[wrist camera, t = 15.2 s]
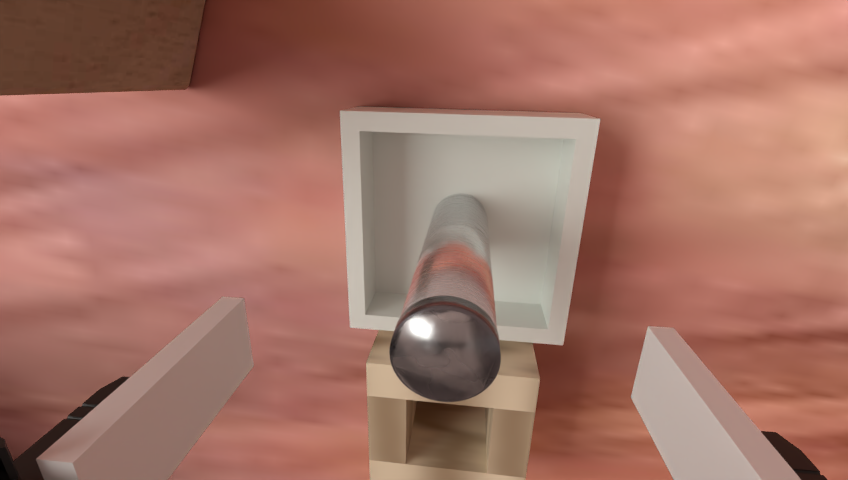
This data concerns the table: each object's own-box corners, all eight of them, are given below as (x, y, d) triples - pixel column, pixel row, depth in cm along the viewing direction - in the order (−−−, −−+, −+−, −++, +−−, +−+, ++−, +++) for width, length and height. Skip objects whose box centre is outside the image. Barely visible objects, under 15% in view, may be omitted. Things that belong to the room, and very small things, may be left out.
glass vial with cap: (430, 244, 27) (389, 396, 14) (432, 191, 26) (389, 304, 13) (485, 248, 27) (495, 406, 14) (490, 194, 25) (505, 312, 12)
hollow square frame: (387, 419, 34) (370, 486, 28) (386, 310, 30) (366, 362, 25) (513, 433, 33) (521, 505, 27) (527, 322, 29) (540, 378, 24)
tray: (365, 297, 30) (349, 327, 26) (359, 106, 26) (339, 110, 22) (551, 311, 29) (563, 345, 25) (581, 112, 24) (600, 118, 21)
